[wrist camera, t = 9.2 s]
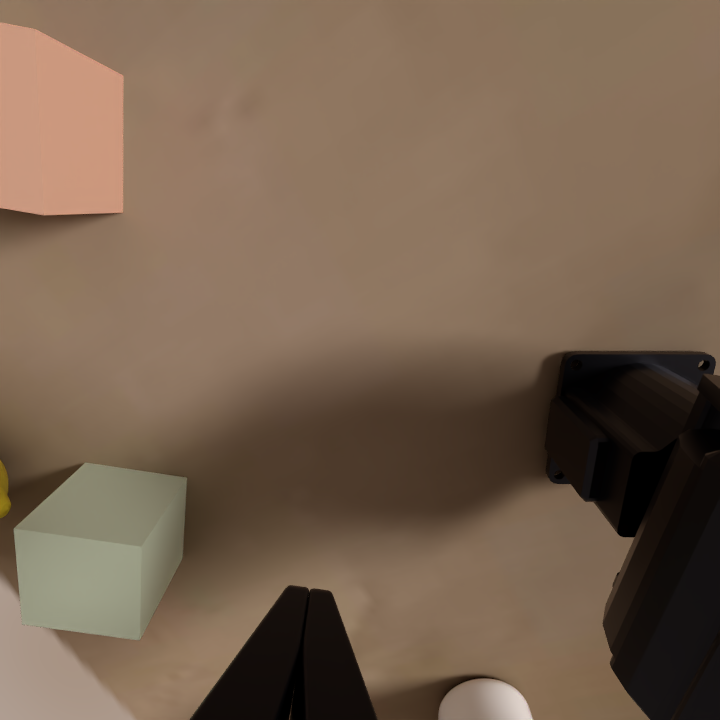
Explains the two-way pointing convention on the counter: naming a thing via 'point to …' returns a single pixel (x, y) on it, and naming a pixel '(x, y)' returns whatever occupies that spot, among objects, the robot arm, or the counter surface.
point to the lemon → (4, 492)
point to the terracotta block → (58, 128)
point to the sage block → (101, 551)
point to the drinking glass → (484, 702)
